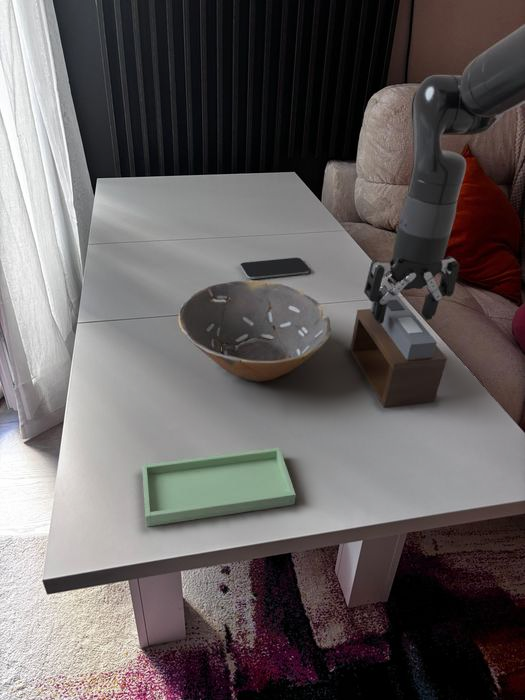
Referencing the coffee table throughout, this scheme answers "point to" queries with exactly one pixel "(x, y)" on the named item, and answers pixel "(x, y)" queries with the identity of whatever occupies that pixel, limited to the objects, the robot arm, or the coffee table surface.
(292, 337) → the bowl
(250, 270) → the smartphone
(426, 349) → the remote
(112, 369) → the coffee table surface
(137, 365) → the coffee table surface
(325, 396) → the coffee table surface
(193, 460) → the tray
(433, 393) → the brown wooden open box
